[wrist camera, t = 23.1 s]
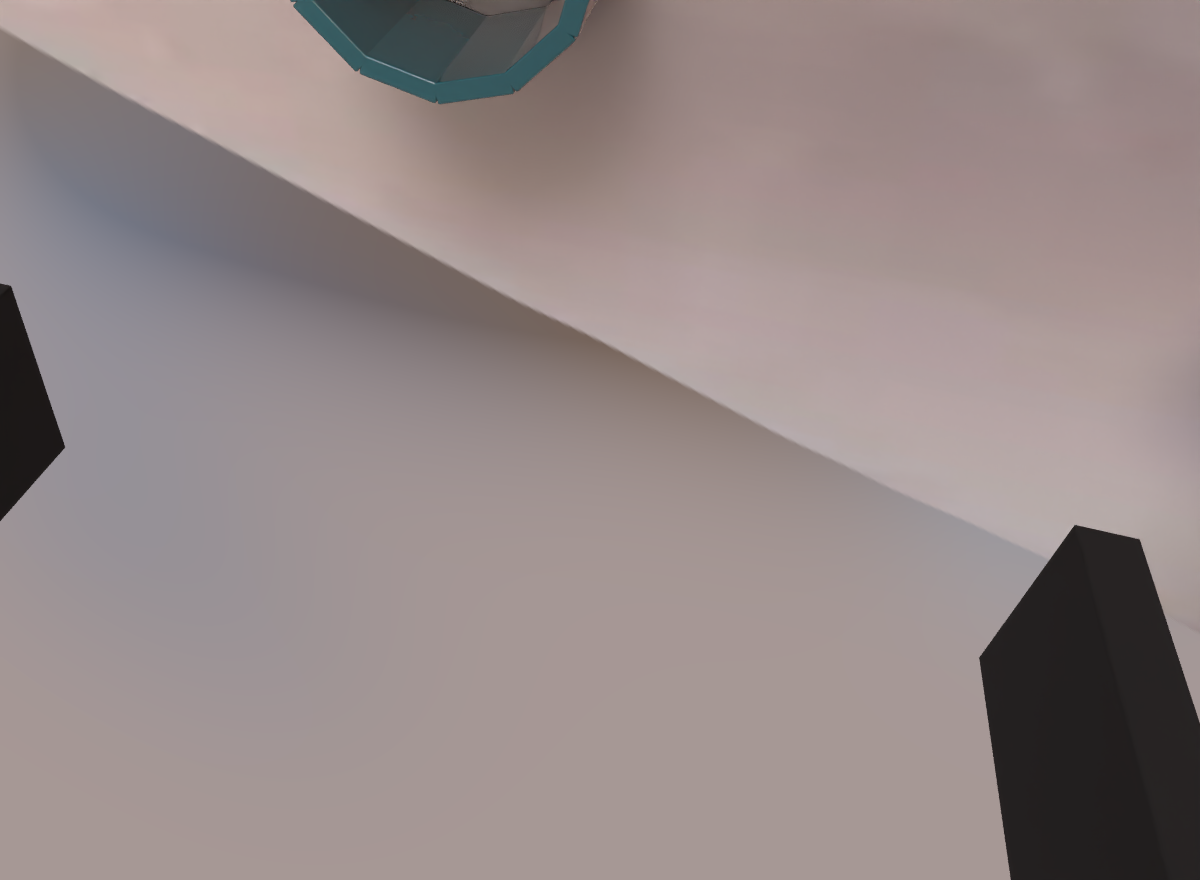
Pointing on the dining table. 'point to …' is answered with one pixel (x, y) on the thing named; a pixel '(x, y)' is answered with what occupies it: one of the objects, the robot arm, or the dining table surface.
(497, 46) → the crock
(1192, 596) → the dining table surface
